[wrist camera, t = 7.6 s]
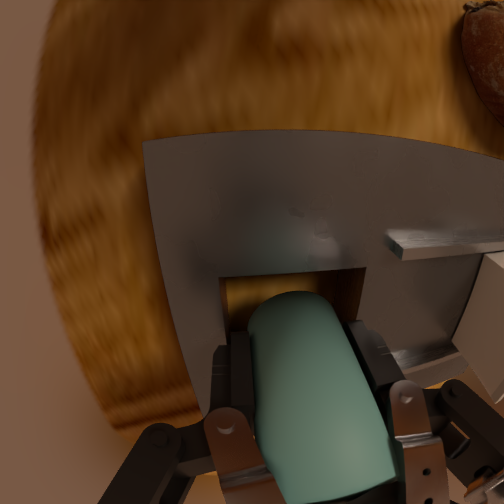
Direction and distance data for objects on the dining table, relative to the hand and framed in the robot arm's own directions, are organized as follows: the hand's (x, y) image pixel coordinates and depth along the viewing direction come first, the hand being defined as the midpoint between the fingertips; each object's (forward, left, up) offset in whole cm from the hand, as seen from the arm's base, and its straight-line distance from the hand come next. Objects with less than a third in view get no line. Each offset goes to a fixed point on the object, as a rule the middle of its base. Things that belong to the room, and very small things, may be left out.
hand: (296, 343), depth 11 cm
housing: (0, +5, -4) cm, 6 cm away
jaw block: (0, +13, -1) cm, 13 cm away
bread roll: (-15, +16, -4) cm, 22 cm away
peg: (0, 0, -1) cm, 1 cm away
